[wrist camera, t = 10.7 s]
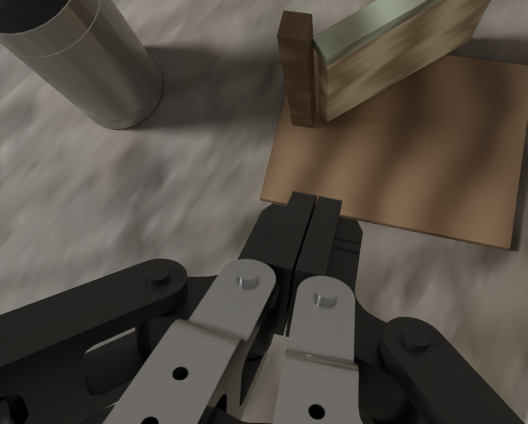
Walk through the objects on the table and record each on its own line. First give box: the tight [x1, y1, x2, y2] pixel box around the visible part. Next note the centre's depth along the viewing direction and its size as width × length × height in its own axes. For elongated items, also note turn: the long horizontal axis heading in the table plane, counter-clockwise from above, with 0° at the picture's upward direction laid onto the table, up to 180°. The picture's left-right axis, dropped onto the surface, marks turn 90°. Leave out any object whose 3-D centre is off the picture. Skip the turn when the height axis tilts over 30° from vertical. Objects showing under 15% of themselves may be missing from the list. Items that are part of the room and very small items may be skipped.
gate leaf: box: [312, 0, 491, 122], centre depth 39 cm, size 17×2×12 cm, turn 119°
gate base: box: [260, 11, 528, 250], centre depth 37 cm, size 23×18×16 cm
